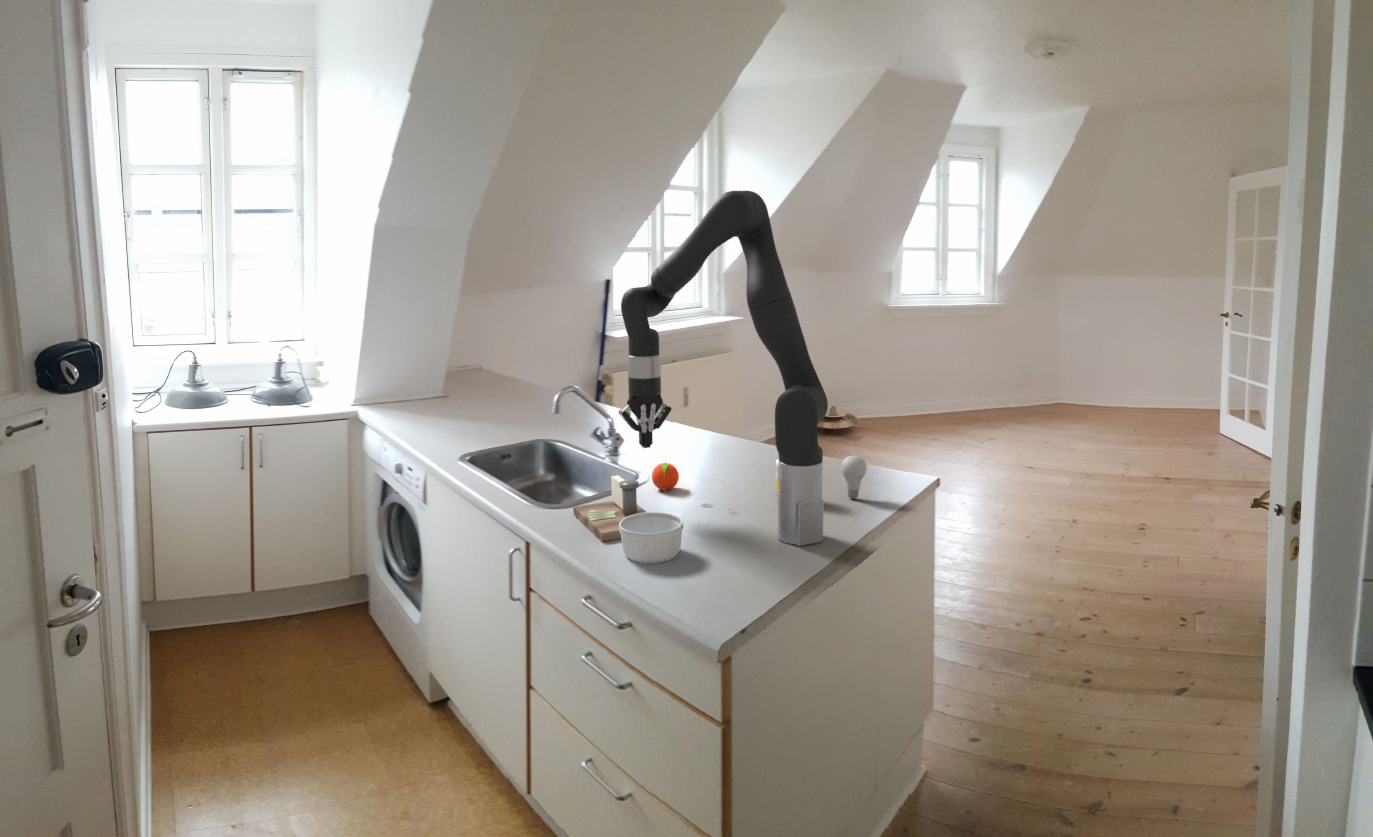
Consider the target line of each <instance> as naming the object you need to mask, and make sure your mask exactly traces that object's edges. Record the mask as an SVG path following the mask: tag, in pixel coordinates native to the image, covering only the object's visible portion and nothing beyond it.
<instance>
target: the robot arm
mask: <svg viewBox="0 0 1373 837" xmlns="http://www.w3.org/2000/svg"><path fill="white" fill-rule="evenodd" d="M772 228H773V227H772V225H771V220H770V215H769V211H768V207H767V204H766V202H765V200H764V199H763V198H762V197H761V196H760V195H759V194H758V193H757V192H755V191H752V190H730V191H726V192H724V193H723V194H721V195H720V196H719V197H718V198H717V199H716V200H715V202H713V204H712V205H711V207H710V208H709V209H708V210H707V212H706V213H705V215H704V216H703V218H702V219H701V220H700V222H699V223H698V224H697V226H696V227H695V228H694V229H693V230H692V231H691V233H690V234H689V235H688V236H687V237H686V238H685V240H683V242H682V243H681V244H680V245H679V246H678V247H677V248H676V249H675V250H674V251H673V252H672V253H671V254H670V255H669V256H668V257H666V258H665V259H664V261H662V262H661V263H660V264H659V265H658V266H657V267H656V268H655V270H653V272H652V273H651V276H650V283H648V284H647V285H645V286H639V287H631V288H628V289H627V290H626V291H625V292H624V293H623V295H622V297H621V302H620V311H621V316H622V320H623V323H624V328H625V331H626V334H627V336H628V360H627V361H628V362H627V374H628V376H627V377H628V380H627V382H628V383H627V384H628V400H627V401H626V406H625V407H623V409H619V410H618V414H619V416H620V417H621V418H622V419H623V420H624V421H625V422H626V424H627V425H628V426H629V427H630V429H632V430H634V431H636V432H638V444H639V445H640V446H641V447H642V448H643V449H647V448H651V446H652V445H653V441H654V439H653V431H655V430H656V429H657V430H658V429H660V428H661V427H662V425H663V423H664V422H665V420H666V419H667V418H668V416H669V414H670V413H671V411H672V407H671V406H670V405H667V404H666V403H665V402H664V399H663V398H662V374H661V373H662V371H661V370H662V369H661V368H662V367H661V358H660V336H659V332H658V331H657V330H656V329H654V328H651V326H650V323H649V318H653V317H656V316H657V315H659V314H661V313H662V312H663V311H665V309H666V308H667V307H668V306H669V305H670V303H671V302H672V300H673V299H674V297H675V295H676V294H677V293H678V292H680V291H681V290H682V289H683V288H684V287H685V286H686V285H687V284H689V282H691V280H693V279H694V278H695V277H696V276H697V274H698V273H699V271H700V270H701V268H703V267H702V266H703V265H704V264H705V262H706V261H707V259H708V258H709V256H710V255H711V254H712V253H713V252H714V251H715V250H716V249H717V248H719V247H720V246H722V245H723V244H725V243H726V242H727V241H729V240H730V239H733V238H734V237H736V238H738V241H739V243H740V246H741V249H742V252H743V255H744V259H745V263H746V293H745V294H746V302H747V308H748V310H749V314H750V317H751V321H752V324H753V327H754V329H755V331H756V334H757V336H758V337H759V339H760V340H761V343H762V344H763V346H764V347H765V348H766V350H767V351H768V352H769V354H770V355H771V357H772V359H773V360H774V362H775V363H776V365H777V367H778V369H779V372H780V375H781V378H782V381H783V382H782V383H783V386H784V390H785V391H783V392H782V393H781V394H780V395H779V396H778V397H777V399H776V403H775V406H774V434H775V435H774V436H775V438H774V439H775V448H776V450H777V453H778V458H779V480H778V500H777V501H778V502H777V503H778V504H777V505H778V506H777V537H778V539H779V541H782V542H783V543H786V544H791V545H796V547H797V546H798V547H801V546H807V545H812V544H817V543H818V544H819V543H822V542H824V511H825V510H824V507H825V500H824V498H823V463H824V462H823V459H824V458H823V457H824V456H823V455H824V454H823V452H824V451H823V448H822V447H821V446H820V445H819V439H818V436H819V435H818V424H819V423H821V422H822V421H823V419H824V418H825V417H826V416H827V412H828V407H829V404H828V398H827V395H826V392H825V389H824V388H823V385H822V383H821V380H820V378H819V376H818V373H817V372H816V369H815V367H814V365H813V361H812V359H811V357H810V354H809V351H808V347H807V346H808V345H807V344H806V340H805V337H804V334H803V330H802V327H801V323H800V320H799V316H798V313H797V310H796V306H795V303H794V299H793V297H792V294H791V292H790V288H789V284H788V283H787V279H786V276H785V272H784V269H783V267H782V264H781V261H780V257H779V255H778V252H777V247H776V243H775V239H774V234H773V229H772ZM632 413H633V415H634V416H635V419H636V422H635V420H634V419H633V418H632V416H631V415H632ZM656 414H657V415H656Z"/></svg>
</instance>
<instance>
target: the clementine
mask: <svg viewBox="0 0 1373 837" xmlns="http://www.w3.org/2000/svg"><path fill="white" fill-rule="evenodd" d="M679 477H680V476H679V472H678V469H677V468H676V467H675V465H673V464H671V463H667V462H663V463H659V464H658V465H657V466H655V468H654V469H653V470H652V472H651V481H652V483H653V485H654V486H655V487H656V488H657V489H659V490H662V491H669V490H672V489H673V488H675V487H676V486H677V484H678V482H679V479H680V478H679Z"/></svg>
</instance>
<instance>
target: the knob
mask: <svg viewBox="0 0 1373 837" xmlns="http://www.w3.org/2000/svg"><path fill="white" fill-rule="evenodd" d="M610 478H611V479H610V481H611V482H610V483H611V484H610V485H611V501H613V502H614V503H616V504H617V505H618V506H619V507H620V508H622V509H623V514H625V515H634V514H636V513H637V505H638V503H637V501H638V500H637V499H638V498H637V489H638V488H639V487H640V482H639V481H638V480H633V479H629V480H627V479H624V478H623V477H621V476H620V475H619V474H618V475H611V476H610Z"/></svg>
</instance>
